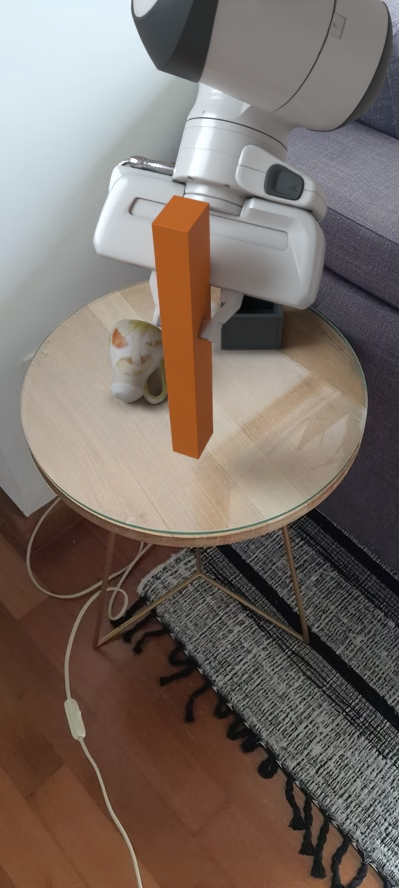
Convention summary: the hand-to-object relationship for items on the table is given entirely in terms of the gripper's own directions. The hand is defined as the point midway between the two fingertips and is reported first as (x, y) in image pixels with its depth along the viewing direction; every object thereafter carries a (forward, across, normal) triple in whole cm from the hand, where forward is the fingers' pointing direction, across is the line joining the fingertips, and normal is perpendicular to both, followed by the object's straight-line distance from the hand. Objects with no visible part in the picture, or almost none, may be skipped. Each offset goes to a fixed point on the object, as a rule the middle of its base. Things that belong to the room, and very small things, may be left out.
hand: (184, 334), depth 61 cm
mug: (+8, -12, +23) cm, 27 cm away
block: (+11, 0, +12) cm, 16 cm away
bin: (-2, -2, +32) cm, 33 cm away
